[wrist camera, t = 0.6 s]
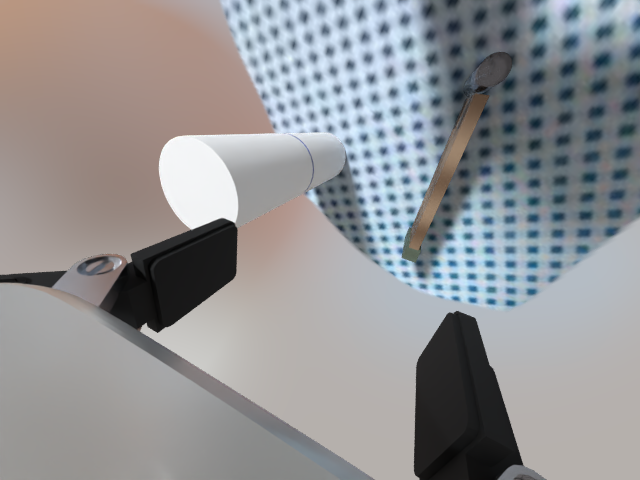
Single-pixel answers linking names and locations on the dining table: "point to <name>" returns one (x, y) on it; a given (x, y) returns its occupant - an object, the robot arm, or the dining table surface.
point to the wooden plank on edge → (443, 173)
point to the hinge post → (488, 73)
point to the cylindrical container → (244, 173)
